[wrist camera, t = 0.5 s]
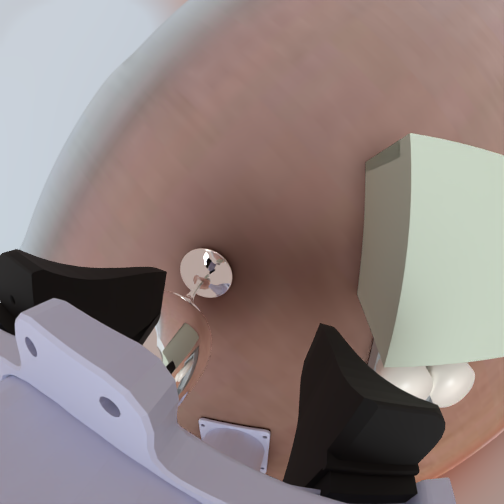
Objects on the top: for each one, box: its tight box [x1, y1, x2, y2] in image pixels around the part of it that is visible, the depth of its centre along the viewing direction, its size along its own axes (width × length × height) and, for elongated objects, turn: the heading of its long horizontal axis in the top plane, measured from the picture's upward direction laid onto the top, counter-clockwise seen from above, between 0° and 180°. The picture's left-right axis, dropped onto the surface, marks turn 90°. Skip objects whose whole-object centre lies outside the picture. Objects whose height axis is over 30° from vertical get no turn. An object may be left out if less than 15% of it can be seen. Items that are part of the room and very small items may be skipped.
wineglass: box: [132, 248, 233, 406], centre depth 16 cm, size 6×6×12 cm
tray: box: [368, 340, 475, 407], centre depth 18 cm, size 15×8×6 cm, turn 179°
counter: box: [357, 133, 504, 367], centre depth 13 cm, size 10×12×10 cm
